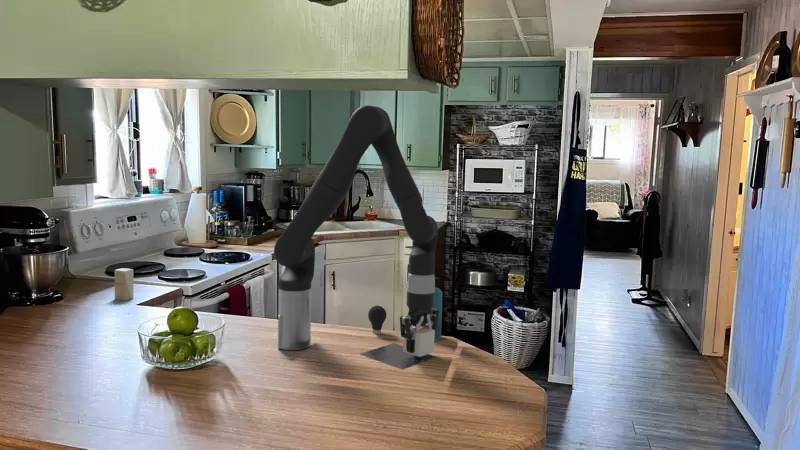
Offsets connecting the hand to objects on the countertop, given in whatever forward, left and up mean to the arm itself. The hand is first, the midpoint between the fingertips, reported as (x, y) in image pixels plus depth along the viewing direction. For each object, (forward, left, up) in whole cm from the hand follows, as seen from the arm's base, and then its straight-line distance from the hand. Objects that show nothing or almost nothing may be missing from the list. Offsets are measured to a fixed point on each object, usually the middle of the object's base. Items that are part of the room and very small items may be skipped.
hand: (418, 349), depth 164 cm
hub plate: (-5, +1, -4) cm, 7 cm away
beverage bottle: (+7, +16, -4) cm, 18 cm away
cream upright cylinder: (-95, +75, -4) cm, 122 cm away
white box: (0, 0, -1) cm, 1 cm away
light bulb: (-8, +22, -4) cm, 24 cm away
